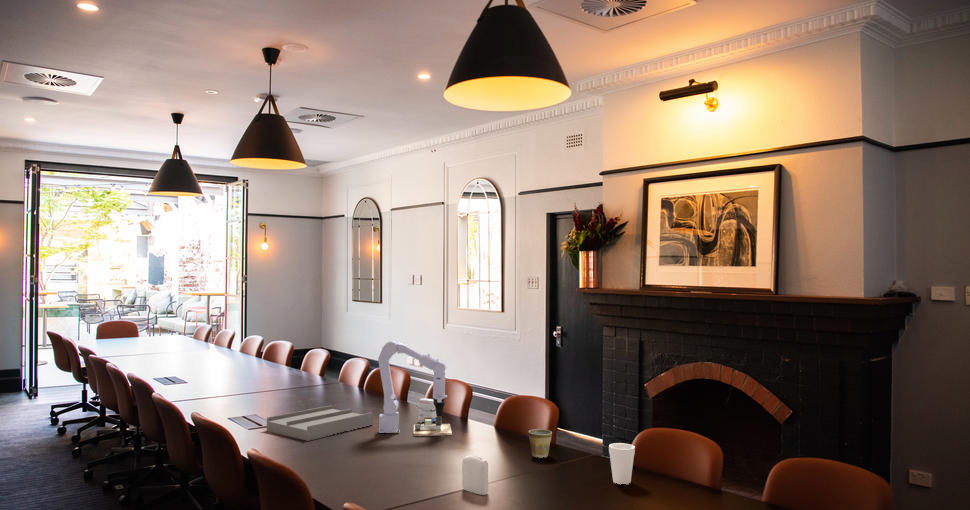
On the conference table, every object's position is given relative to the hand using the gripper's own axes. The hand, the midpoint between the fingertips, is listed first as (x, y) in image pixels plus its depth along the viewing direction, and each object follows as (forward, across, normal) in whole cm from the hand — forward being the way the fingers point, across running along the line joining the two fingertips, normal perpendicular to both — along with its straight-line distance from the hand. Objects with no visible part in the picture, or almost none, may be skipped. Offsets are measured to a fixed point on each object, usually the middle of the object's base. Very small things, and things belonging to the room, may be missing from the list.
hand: (438, 414), depth 312 cm
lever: (+7, 0, +5) cm, 9 cm away
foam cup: (+9, -81, -65) cm, 104 cm away
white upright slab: (+9, -88, -10) cm, 89 cm away
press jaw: (+7, +5, +5) cm, 10 cm away
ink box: (+9, +25, +5) cm, 27 cm away
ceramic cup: (+9, -42, -42) cm, 60 cm away
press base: (+9, +3, +3) cm, 10 cm away
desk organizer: (+10, +14, +58) cm, 60 cm away
